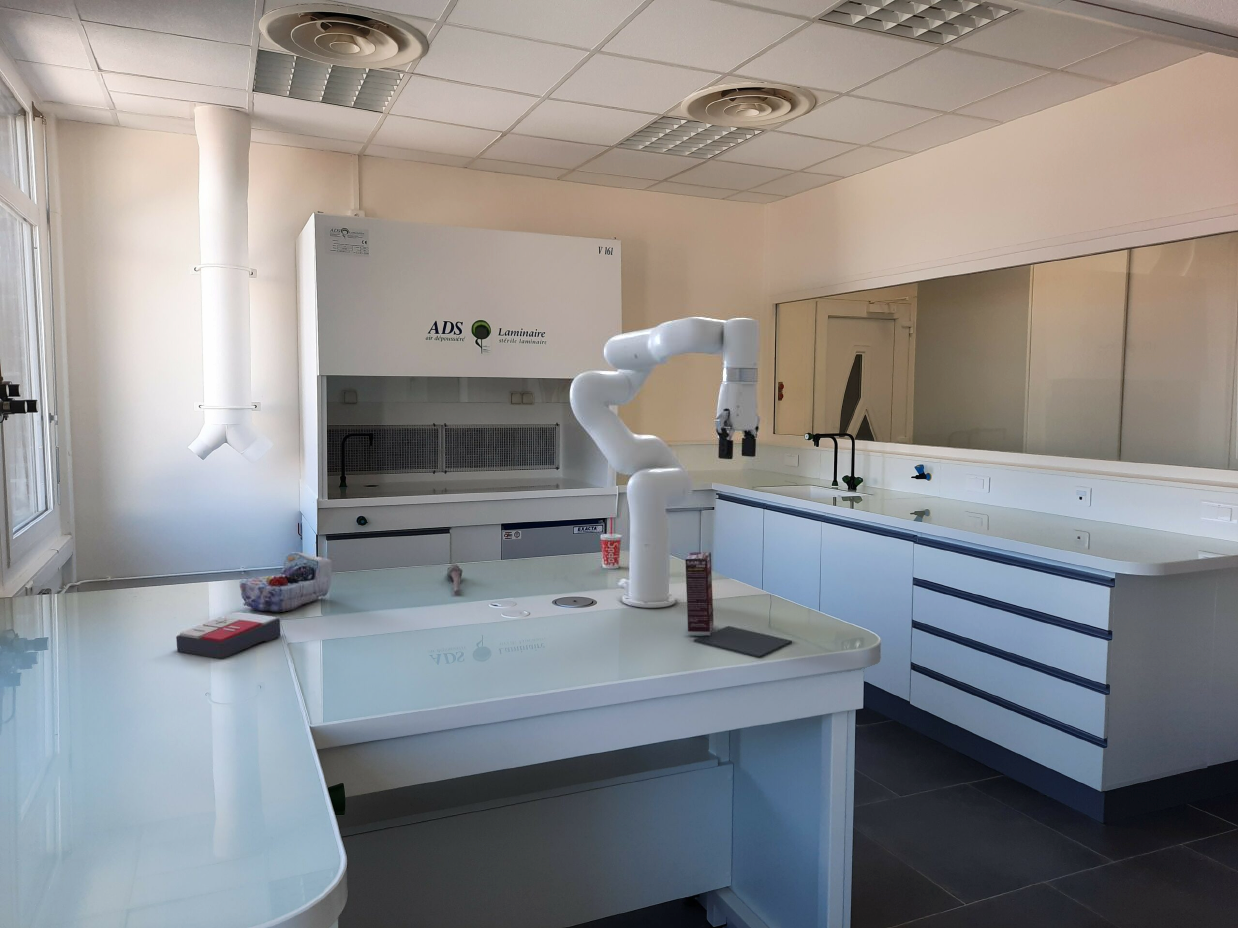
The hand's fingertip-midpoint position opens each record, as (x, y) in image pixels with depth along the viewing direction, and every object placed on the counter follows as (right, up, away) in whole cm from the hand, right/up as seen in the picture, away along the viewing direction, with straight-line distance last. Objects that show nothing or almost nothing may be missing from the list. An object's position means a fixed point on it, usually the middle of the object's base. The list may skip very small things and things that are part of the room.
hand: (737, 457), depth 179 cm
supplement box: (-8, -36, -5) cm, 38 cm away
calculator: (-100, -36, -19) cm, 108 cm away
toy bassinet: (-101, -33, +10) cm, 106 cm away
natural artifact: (-67, -32, +31) cm, 81 cm away
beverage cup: (-28, -31, +56) cm, 70 cm away
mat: (0, -37, -11) cm, 39 cm away
